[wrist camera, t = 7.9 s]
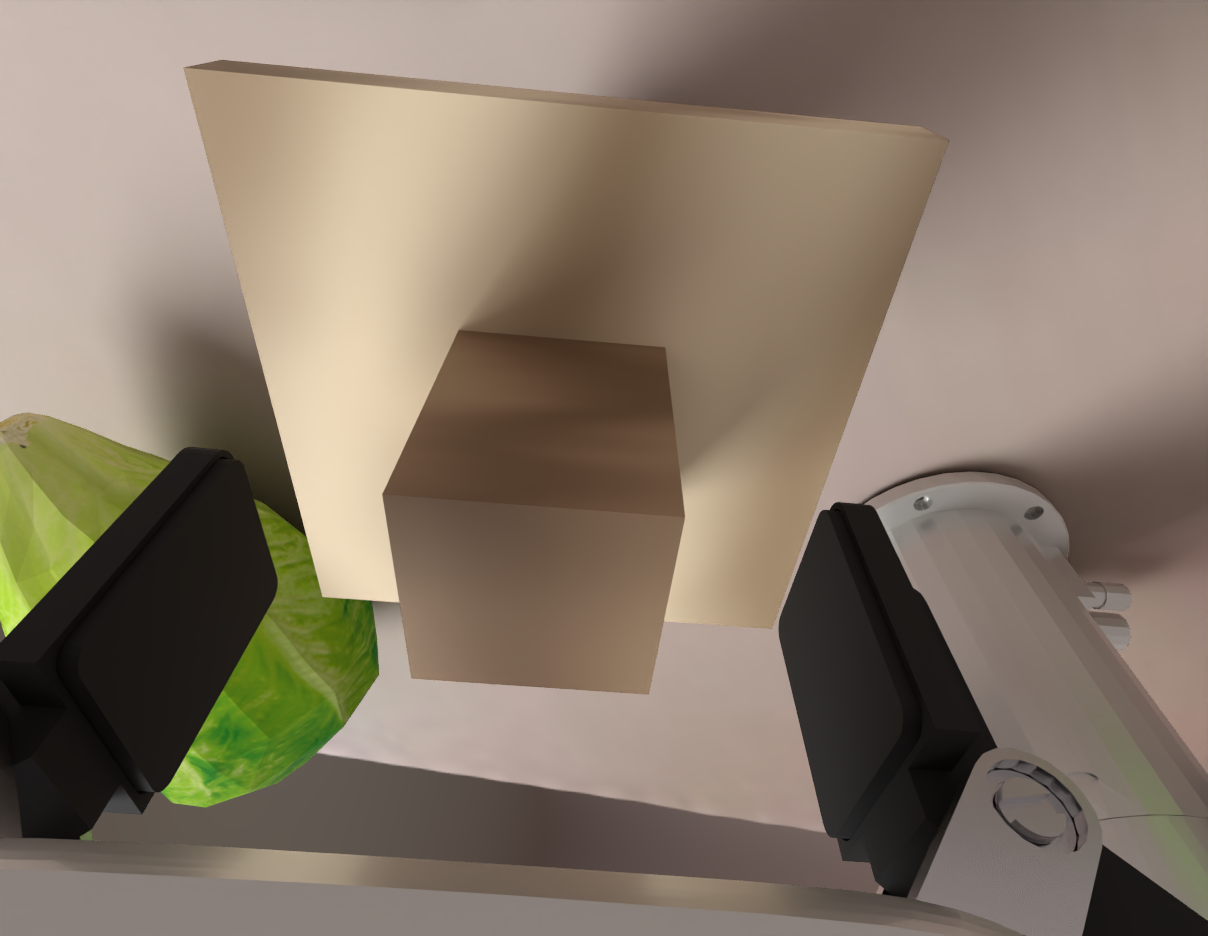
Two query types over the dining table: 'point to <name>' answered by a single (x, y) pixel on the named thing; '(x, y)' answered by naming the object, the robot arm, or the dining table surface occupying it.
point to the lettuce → (272, 658)
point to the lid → (555, 347)
